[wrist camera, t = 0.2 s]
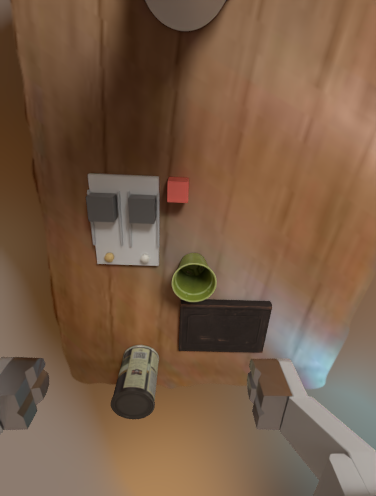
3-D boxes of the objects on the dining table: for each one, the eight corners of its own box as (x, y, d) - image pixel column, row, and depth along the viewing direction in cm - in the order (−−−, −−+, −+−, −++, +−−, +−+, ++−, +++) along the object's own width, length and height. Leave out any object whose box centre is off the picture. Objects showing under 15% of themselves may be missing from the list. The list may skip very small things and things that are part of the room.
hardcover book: (260, 346, 74) (262, 352, 72) (178, 344, 73) (178, 350, 71) (269, 299, 67) (272, 305, 65) (180, 297, 67) (180, 302, 64)
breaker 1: (90, 192, 53) (84, 196, 50) (116, 193, 53) (112, 197, 50) (93, 216, 55) (87, 221, 52) (118, 217, 55) (114, 222, 52)
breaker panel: (89, 173, 53) (84, 175, 51) (160, 176, 53) (159, 178, 51) (98, 260, 61) (95, 265, 59) (159, 262, 62) (159, 267, 59)
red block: (168, 176, 54) (167, 181, 49) (188, 177, 54) (188, 182, 49) (168, 196, 55) (167, 202, 51) (187, 196, 55) (187, 202, 51)
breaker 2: (131, 194, 53) (128, 198, 50) (155, 195, 53) (154, 199, 50) (132, 217, 55) (129, 222, 52) (156, 218, 55) (154, 223, 52)
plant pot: (167, 273, 63) (164, 294, 55) (182, 240, 59) (181, 257, 51) (202, 285, 65) (205, 307, 57) (219, 254, 61) (224, 272, 53)
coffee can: (132, 374, 77) (122, 423, 64) (117, 350, 73) (102, 397, 60) (164, 365, 76) (161, 414, 63) (151, 340, 72) (143, 386, 59)
